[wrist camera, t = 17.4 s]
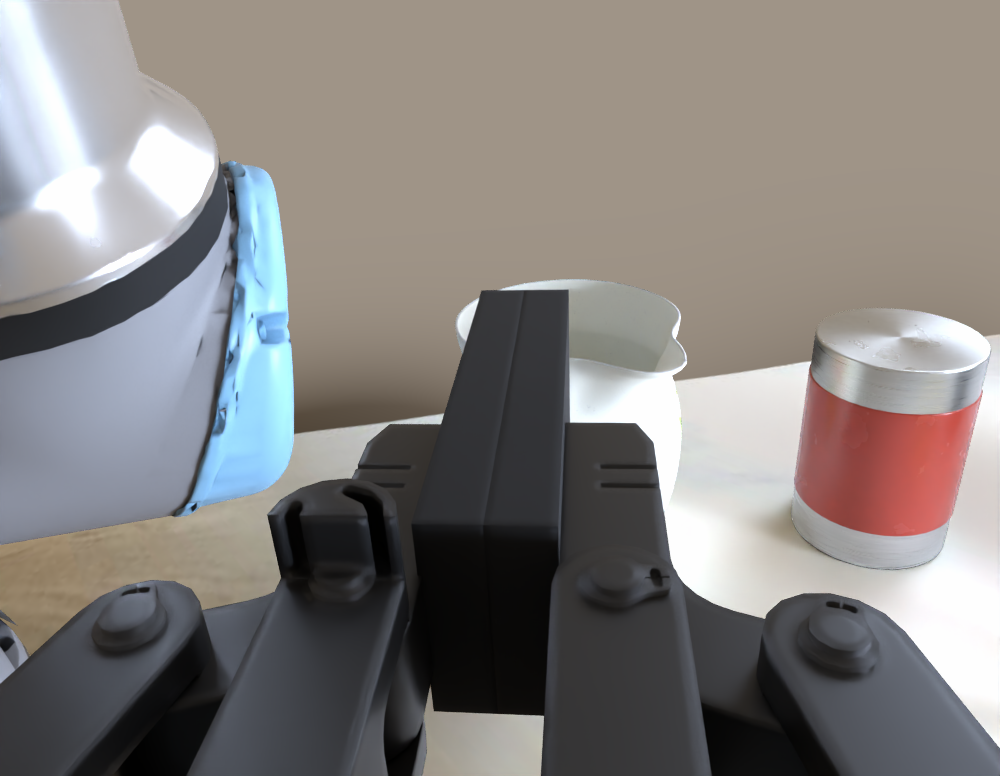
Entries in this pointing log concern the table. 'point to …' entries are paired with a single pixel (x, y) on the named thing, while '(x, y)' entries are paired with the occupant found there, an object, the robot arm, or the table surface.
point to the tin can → (886, 434)
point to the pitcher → (619, 361)
